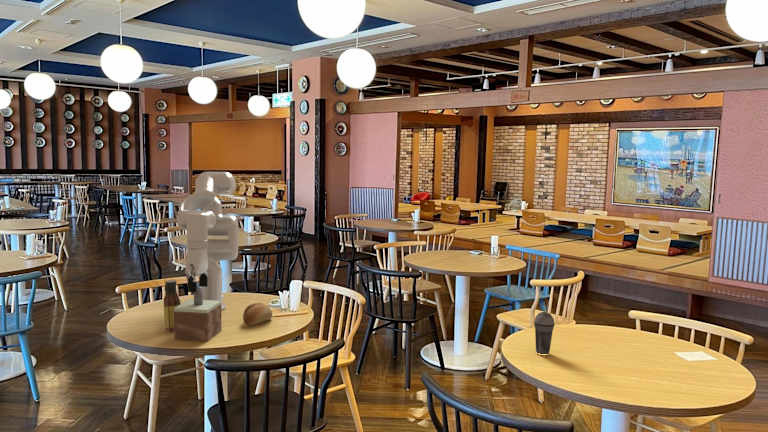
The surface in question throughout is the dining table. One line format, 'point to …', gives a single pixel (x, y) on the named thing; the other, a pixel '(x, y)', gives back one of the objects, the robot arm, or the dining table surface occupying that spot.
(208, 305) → the lid
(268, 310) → the bread roll
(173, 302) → the sauce bottle
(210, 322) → the box
